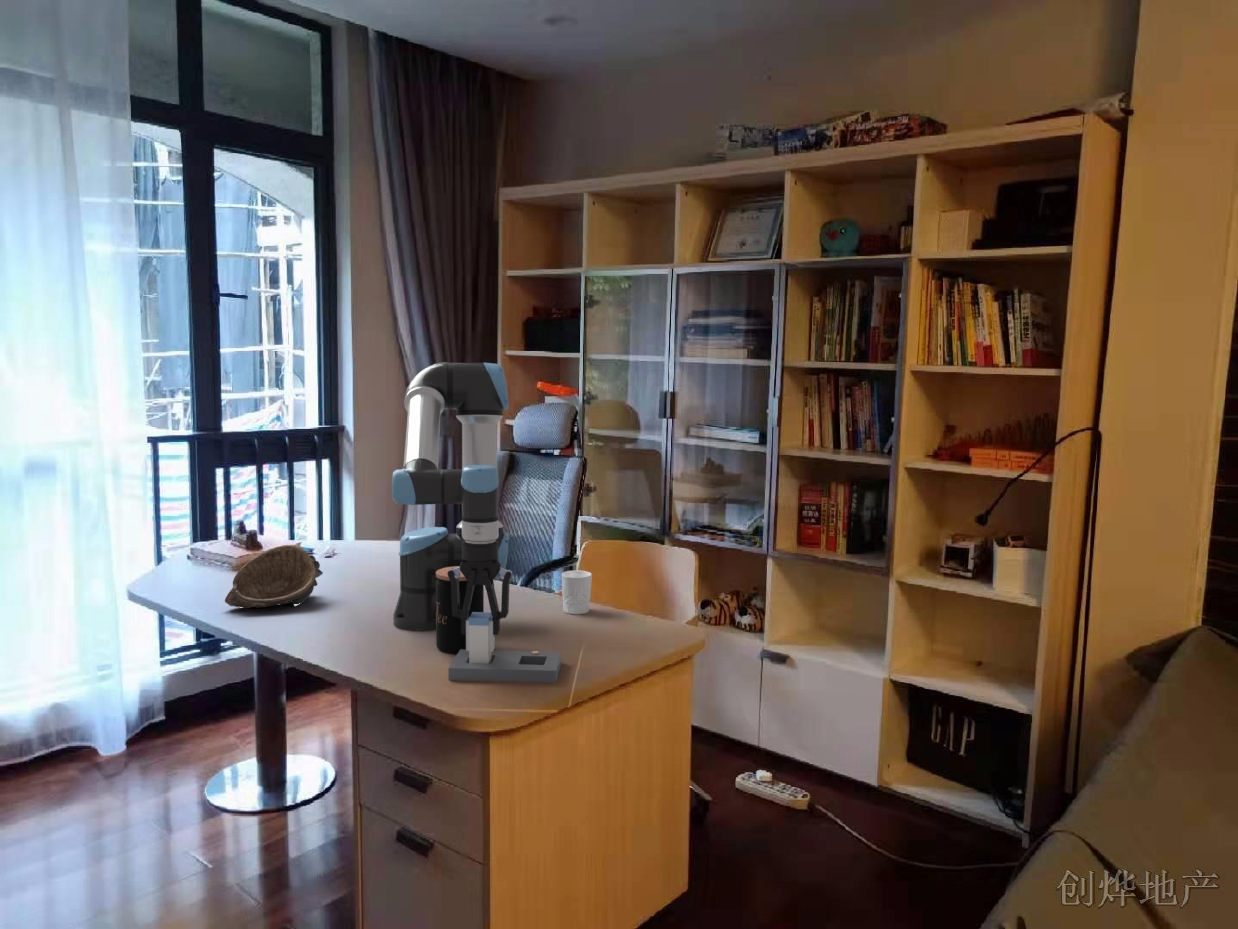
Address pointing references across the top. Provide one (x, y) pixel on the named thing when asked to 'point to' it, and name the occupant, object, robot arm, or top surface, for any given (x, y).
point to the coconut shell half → (275, 578)
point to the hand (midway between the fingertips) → (480, 649)
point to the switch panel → (508, 667)
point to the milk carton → (479, 638)
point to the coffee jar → (446, 624)
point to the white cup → (576, 591)
